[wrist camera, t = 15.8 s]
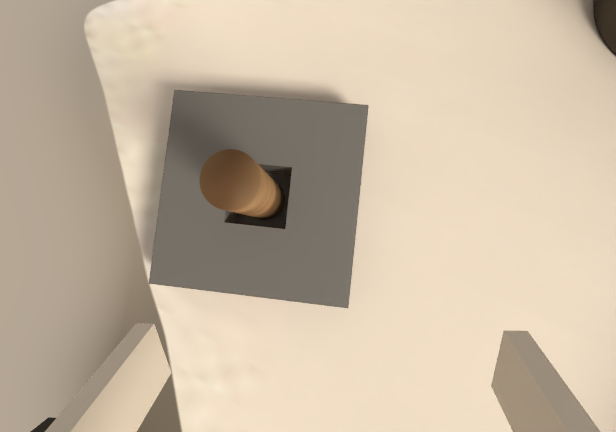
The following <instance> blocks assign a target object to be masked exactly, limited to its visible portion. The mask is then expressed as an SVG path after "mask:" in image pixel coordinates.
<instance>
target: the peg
mask: <svg viewBox="0 0 616 432" xmlns="http://www.w3.org/2000/svg"><path fill="white" fill-rule="evenodd" d="M199 182H200V189H201V191H202V194H203V196H204V197H205V199H206V200H207V201H208V202H209V203H210V204H211V205H213V206H214V207H216V208H219V209H222V210H226V211H230V212H235V213H239V214H244V215H248V216H252V217H257V218H261V219H270V218H273V217H275V216H277V215H278V214H279V213H280V212H281V211H282V209H283V207H284V205H285V194H284V191H283V189H282V188H281V187H280V186H279V185H278V184H277V183H276V182H275V181H274V180H273V179H272V178H271V177H270V176H269V175H268V174H267V173H266V172H265V171H264V170H263V169H262V168H261V167H260V166H259V165H258V164H257V163H256V162H255V161H254V160H253V159H252V158H251V157H250V156H249V155H248V154H246V153H244V152H242V151H240V150H235V149H225V150H221V151H219V152H217V153H215V154H213V155H212V156H211V157H210V158H208V160H207V161H206V162H205V164H204V165H203V167H202V169H201V173H200V180H199Z"/></svg>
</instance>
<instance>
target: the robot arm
mask: <svg viewBox="0 0 616 432" xmlns="http://www.w3.org/2000/svg"><path fill="white" fill-rule="evenodd" d="M594 13H595V19H596V23H597V26H598V29H599V31H600V33H601V35H602V37H603V39H604V41H605V42H606V43H607V45H608V46H609V47H610V48H611V50H612V51H613V52H614V53H615V54H616V0H594ZM170 374H171V371H170V368H169V365H168V362H167V359H166V357H165V354H164V351H163V348H162V345H161V342H160V340H159V336H158V334H157V331H156V328H155V325H154V324H141V323H140V324H138V323H137V324H136V325H135V326H134V327H133V328H132V329H131V331H130V332H129V333H128V334H127V335H126V336H125V338H124V339H123V340H122V341H121V342H120V343H119V345H118V346H117V347H116V348H115V350H114V351H113V352H112V353H111V354H110V355H109V357H108V358H107V359H106V360H105V361H104V362H103V364H102V365H101V366H100V367H99V369H98V370H97V371H96V372H95V373H94V374H93V375H92V377H91V378H90V379H89V380H88V381H87V382H86V384H85V385H84V386H83V387H82V389H81V390H80V391H79V392H78V393H77V394H76V395H75V397H74V398H73V399H72V400H71V401H70V403H69V404H68V405H67V406H66V407H65V408H64V410H63V411H62V412H61V413H60V415H59V416H58V417H57V418H47V419H46V420H45V421H44V422H42V423H41V424H40V425H39V426H37V427H36V428H35V429H34V430H32V431H31V432H137V430H138V428H139V427H140V425H141V423H142V422H143V420H144V418H145V416H146V415H147V413H148V411H149V410H150V408H151V406H152V405H153V403H154V401H155V399H156V398H157V396H158V394H159V393H160V391H161V389H162V387H163V386H164V384H165V382H166V381H167V379H168V377H169V376H170ZM491 386H492V388H493V391H494V393H495V395H496V397H497V399H498V401H499V403H500V405H501V407H502V409H503V412H504V414H505V416H506V418H507V420H508V422H509V424H510V426H511V428H512V430H513V432H600V431H599V429H598V428H597V427H596V425H595V424H594V422H593V421H592V420H591V418H590V417H589V415H588V414H587V413H586V411H585V410H584V408H583V407H582V406H581V404H580V403H579V402H578V400H577V399H576V397H575V396H574V395H573V393H572V392H571V390H570V389H569V388H568V386H567V385H566V384H565V382H564V381H563V379H562V378H561V377H560V375H559V374H558V372H557V371H556V370H555V368H554V367H553V366H552V364H551V363H550V361H549V360H548V359H547V357H546V356H545V354H544V353H543V352H542V350H541V349H540V348H539V346H538V345H537V343H536V342H535V341H534V339H533V338H532V336H531V335H530V334H529V332H528V331H504V332H503V337H502V341H501V345H500V350H499V354H498V358H497V363H496V367H495V372H494V376H493V380H492V385H491Z"/></svg>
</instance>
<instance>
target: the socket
mask: <svg viewBox="0 0 616 432" xmlns="http://www.w3.org/2000/svg"><path fill="white" fill-rule="evenodd" d="M367 115H368V105H359V104H347V103H334V102H322V101H309V100H296V99H284V98H271V97H258V96H246V95H233V94H220V93H208V92H195V91H182V90H175V91H174V98H173V106H172V113H171V121H170V128H169V136H168V143H167V151H166V158H165V166H164V173H163V181H162V188H161V196H160V203H159V211H158V219H157V226H156V234H155V241H154V249H153V256H152V264H151V271H150V279H149V284H157V285H165V286H173V287H182V288H190V289H198V290H206V291H214V292H222V293H230V294H238V295H246V296H254V297H262V298H270V299H278V300H286V301H294V302H302V303H310V304H318V305H327V306H335V307H343V308H348V305H349V295H350V285H351V275H352V265H353V255H354V245H355V235H356V225H357V215H358V205H359V195H360V185H361V175H362V165H363V155H364V145H365V135H366V125H367ZM225 149H235V150H240V151H242V152H244V153H246V154H248V155H249V156H250V157H251V158H252V159H253V160H254V161H255V162H256V163H257V164H258V165H259V166H260V167H261V168H262V169H263V170H264V171H265V172H272V173H283V174H291V182H290V191H289V200H288V209H287V218H286V227H285V229H280V228H271V227H262V226H252V225H243V224H236V218H237V213H235V212H230V211H226V210H222V209H219V208H216V207H214V206H213V205H211V204H210V203H209V202H208V201H207V200H206V199H205V197H204V196H203V194H202V191H201V189H200V182H199V180H200V173H201V169H202V167H203V165H204V164H205V162H206V161H207V160H208V158H210V157H211V156H212V155H213V154H215V153H217V152H219V151H221V150H225Z"/></svg>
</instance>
